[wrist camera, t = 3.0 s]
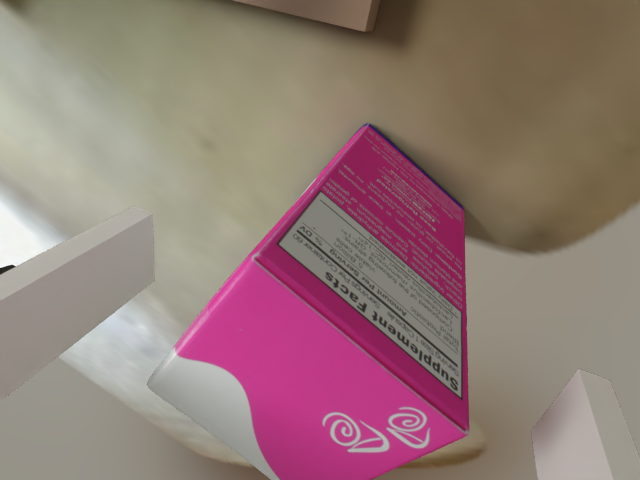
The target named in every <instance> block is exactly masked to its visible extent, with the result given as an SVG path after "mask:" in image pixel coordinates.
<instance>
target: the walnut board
mask: <svg viewBox="0 0 640 480" xmlns="http://www.w3.org/2000/svg"><path fill="white" fill-rule="evenodd" d="M233 1H237V2H241V3H246V4H250V5H254V6H258V7H263V8H267V9H271V10H275V11H279V12H284V13H288V14H292V15H296V16H300V17H305V18H309V19H313V20H317V21H321V22H326V23H330V24H334V25H338V26H342V27H347V28H351V29H355V30H359V31H364V32H368V31H374V26H375V22H376V18H377V13H378V9H379V5H380V0H233Z"/></svg>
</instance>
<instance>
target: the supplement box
mask: <svg viewBox="0 0 640 480" xmlns="http://www.w3.org/2000/svg"><path fill="white" fill-rule="evenodd" d="M466 326H467V315H466V285H465V234H464V208H463V207H462V206H461V205H460V204H459V203H458V202H457V201H456V200H455V199H453V198H452V197H451V196H450V195H449V194H448V193H447V192H446V191H445V190H444V189H442V188H441V187H440V186H439V185H438V184H437V183H436V182H435V181H434V180H432V179H431V178H430V177H429V176H428V175H427V174H426V173H425V172H424V171H423V170H421V169H420V168H419V167H418V166H417V165H416V164H415V163H414V162H413V161H412V160H410V159H409V158H408V157H407V156H406V155H405V154H404V153H403V152H402V151H400V150H399V149H398V148H397V147H396V146H395V145H394V144H393V143H391V142H390V141H389V140H388V139H387V138H386V137H385V136H383V135H382V134H381V133H380V132H379V131H378V130H377V129H375V128H374V127H373V126H372V125H370V124H369V123H366V124H365V125H364V126H363V127H361V128H360V129H359V130H358V131H357V133H356V134H355V135H354V136H353V137H352V138H351V139H350V140H349V141H348V142H347V144H346V145H345V146H344V147H343V148H342V149H341V150H340V151H339V153H338V154H337V155H336V156H335V157H334V158H333V159H332V161H331V162H330V163H329V164H328V165H327V166H326V167H325V168H324V170H323V171H322V172H321V173H320V174H319V175H318V176H317V177H316V179H315V180H314V181H313V182H312V183H311V184H310V186H309V187H308V188H307V189H306V190H305V191H304V193H303V194H302V195H301V196H300V197H299V198H298V200H297V201H296V202H295V203H294V204H293V206H292V207H291V208H290V209H289V210H288V211H287V213H286V214H285V215H284V216H283V217H282V218H281V219H280V221H279V222H278V223H277V224H276V225H275V226H274V227H273V228H272V230H271V231H270V232H269V233H268V234H267V235H266V236H265V237H264V239H263V240H262V241H261V242H260V243H259V244H258V245H257V246H256V248H255V249H254V250H253V251H252V252H251V253H250V254H249V255H248V257H247V258H246V259H245V260H244V261H243V262H242V263H241V265H240V266H239V267H238V268H237V269H236V270H235V271H234V272H233V274H232V275H231V276H230V277H229V278H228V279H227V281H226V282H225V283H224V284H223V286H222V287H221V288H220V289H219V290H218V292H217V293H216V294H215V295H214V297H213V298H212V299H211V300H210V301H209V303H208V304H207V305H206V306H205V308H204V309H203V310H202V311H201V313H200V314H199V315H198V316H197V318H196V319H195V320H194V321H193V323H192V324H191V325H190V326H189V328H188V329H187V330H186V331H185V333H184V334H183V335H182V337H181V338H180V339H179V341H178V342H177V343H176V344H175V346H174V347H173V348H172V350H171V351H170V352H169V353H168V355H167V356H166V357H165V358H164V360H163V361H162V362H161V364H160V365H159V366H158V367H157V369H156V370H155V371H154V373H153V374H152V375H151V377H150V378H149V380H148V383H147V386H148V388H149V389H150V390H151V391H153V392H154V393H156V394H157V395H158V396H160V397H161V398H162V399H164V400H165V401H166V402H168V403H169V404H171V405H172V406H174V407H175V408H176V409H178V410H179V411H180V412H182V413H183V414H184V415H186V416H187V417H189V418H190V419H191V420H193V421H194V422H196V423H197V424H199V425H200V426H201V427H203V428H204V429H205V430H207V431H208V432H209V433H211V434H212V435H214V436H215V437H216V438H218V439H219V440H220V441H222V442H223V443H224V444H226V445H227V446H228V447H230V448H231V449H232V450H234V451H235V452H236V453H238V454H239V455H240V456H242V457H243V458H244V459H245V460H247V461H248V462H249V463H250V464H252V465H253V466H254V467H256V468H257V469H258V470H260V471H261V472H262V473H263V474H265V475H266V476H267V477H269V478H270V479H271V480H372V479H374V478H376V477H378V476H380V475H382V474H385V473H387V472H389V471H391V470H393V469H396V468H398V467H400V466H402V465H404V464H406V463H409V462H411V461H413V460H415V459H418V458H420V457H422V456H424V455H426V454H428V453H431V452H433V451H435V450H437V449H440V448H442V447H444V446H446V445H448V444H450V443H453V442H455V441H457V440H459V439H461V438H463V437H465V436H467V435H468V434H469V407H468V406H469V405H468V364H467V331H466Z"/></svg>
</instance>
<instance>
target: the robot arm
mask: <svg viewBox="0 0 640 480" xmlns="http://www.w3.org/2000/svg"><path fill="white" fill-rule="evenodd" d="M154 281H155V275H154V236H153V213H150V212H148V211H145V210H142V209H139V208H137V207H134V206H132V207H130V208H128V209H126V210H125V211H123V212H121V213H119V214H117V215H115V216H113V217H111V218H109V219H107V220H105V221H103V222H101V223H99V224H97V225H96V226H94V227H92V228H90V229H88V230H86V231H84V232H82V233H80V234H78V235H76V236H74V237H72V238H70V239H68V240H66V241H65V242H63V243H61V244H59V245H57V246H55V247H53V248H51V249H49V250H47V251H45V252H43V253H41V254H39V255H37V256H36V257H34V258H32V259H30V260H28V261H26V262H24V263H22V264H20V265H18V266H14V265H9V266H6V267H2V268H0V402H1V401H2V400H3V399H5V398H6V397H7V396H9V395H10V394H11V393H12V392H14V391H15V390H16V389H17V388H19V387H20V386H21V385H23V384H24V383H25V382H26V381H27V380H29V379H30V378H31V377H33V376H34V375H35V374H36V373H38V372H39V371H40V370H42V369H43V368H44V367H45V366H47V365H48V364H49V363H50V362H52V361H53V360H54V359H56V358H57V357H58V356H59V355H61V354H62V353H63V352H65V351H66V350H67V349H68V348H70V347H71V346H72V345H73V344H75V343H76V342H77V341H79V340H80V339H81V338H82V337H84V336H85V335H86V334H87V333H89V332H90V331H91V330H93V329H94V328H95V327H96V326H98V325H99V324H100V323H101V322H103V321H104V320H105V319H106V318H108V317H109V316H110V315H112V314H113V313H114V312H115V311H117V310H118V309H119V308H120V307H122V306H123V305H124V304H126V303H127V302H128V301H129V300H131V299H132V298H133V297H134V296H136V295H137V294H138V293H140V292H141V291H142V290H143V289H145V288H146V287H147V286H148V285H150V284H151V283H152V282H154ZM531 436H532V444H533V451H534V458H535V464H536V471H537V478H538V480H640V456H639V454H638V451H637V448H636V446H635V443H634V441H633V438H632V436H631V433H630V431H629V428H628V425H627V423H626V420H625V418H624V415H623V413H622V410H621V407H620V405H619V402H618V400H617V397H616V395H615V392H614V390H613V387H612V384H611V382H610V380H609V379H606V378H603V377H600V376H598V375H595V374H592V373H589V372H587V371H584V370H581V369H578V370H577V372H576V373H575V374H574V375H573V377H572V378H571V380H570V381H569V382H568V383H567V385H566V386H565V387H564V389H563V390H562V391H561V392H560V394H559V395H558V397H557V398H556V399H555V400H554V402H553V403H552V404H551V406H550V407H549V408H548V409H547V411H546V412H545V413H544V415H543V416H542V417H541V419H540V420H539V421H538V422H537V424H536V425H535V426H534V428H533V429H532V430H531Z"/></svg>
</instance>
